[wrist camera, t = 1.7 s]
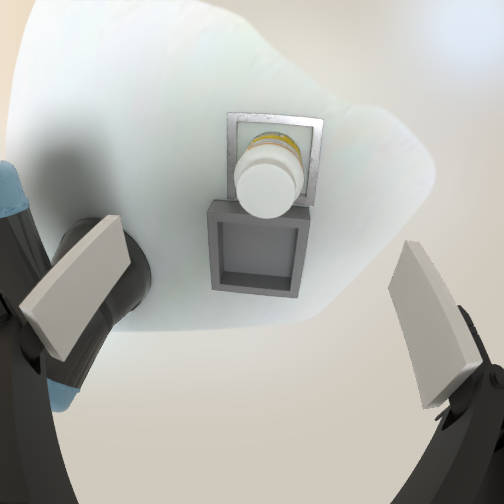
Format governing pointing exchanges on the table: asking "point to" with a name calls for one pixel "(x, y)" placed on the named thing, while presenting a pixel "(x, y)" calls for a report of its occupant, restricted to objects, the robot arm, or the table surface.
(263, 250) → the bin
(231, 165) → the socket collar
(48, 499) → the robot arm
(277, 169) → the supplement bottle
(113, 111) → the table surface
